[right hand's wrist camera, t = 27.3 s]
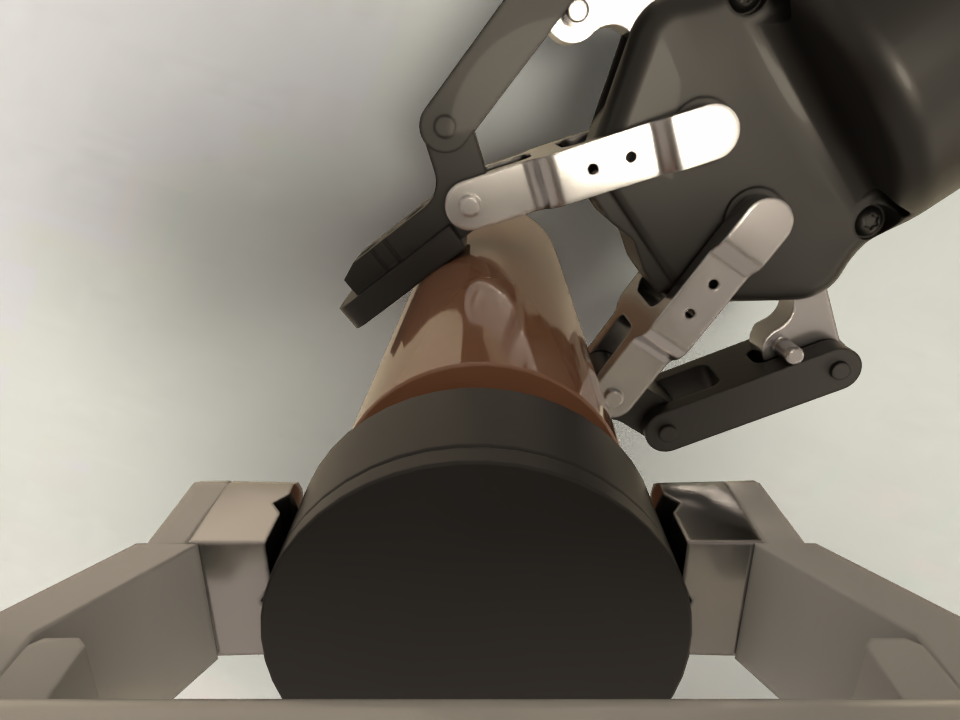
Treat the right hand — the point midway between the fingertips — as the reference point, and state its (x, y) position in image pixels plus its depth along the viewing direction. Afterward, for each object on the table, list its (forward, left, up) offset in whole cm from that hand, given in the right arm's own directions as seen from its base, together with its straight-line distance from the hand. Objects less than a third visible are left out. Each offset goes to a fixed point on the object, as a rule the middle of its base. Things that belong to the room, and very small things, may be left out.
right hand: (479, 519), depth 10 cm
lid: (0, 0, +2) cm, 2 cm away
